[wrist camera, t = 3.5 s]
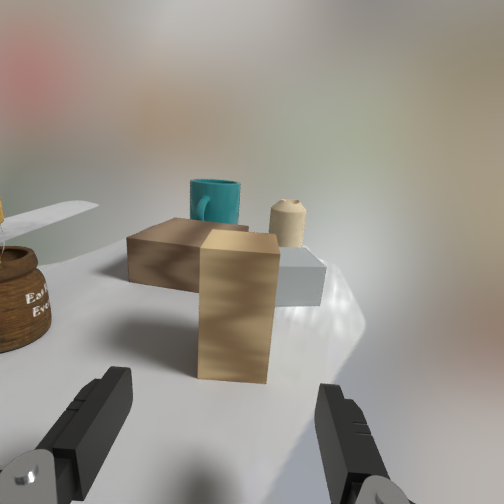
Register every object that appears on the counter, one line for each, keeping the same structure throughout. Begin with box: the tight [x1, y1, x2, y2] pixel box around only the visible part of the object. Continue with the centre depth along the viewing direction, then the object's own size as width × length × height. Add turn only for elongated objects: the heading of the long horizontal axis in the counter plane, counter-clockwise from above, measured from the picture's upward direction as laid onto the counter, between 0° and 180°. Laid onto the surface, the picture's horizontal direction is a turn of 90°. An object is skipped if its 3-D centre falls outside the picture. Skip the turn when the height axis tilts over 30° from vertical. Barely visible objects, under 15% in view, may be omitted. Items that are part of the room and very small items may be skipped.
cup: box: [190, 179, 241, 225], centre depth 52 cm, size 9×12×11 cm
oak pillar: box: [198, 229, 281, 384], centre depth 22 cm, size 5×5×10 cm
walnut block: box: [126, 218, 249, 293], centre depth 39 cm, size 12×13×6 cm
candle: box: [269, 199, 307, 248], centre depth 45 cm, size 6×6×10 cm
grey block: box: [275, 247, 327, 307], centre depth 35 cm, size 7×7×5 cm
